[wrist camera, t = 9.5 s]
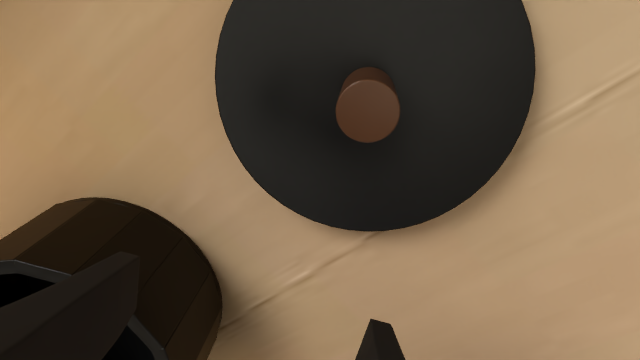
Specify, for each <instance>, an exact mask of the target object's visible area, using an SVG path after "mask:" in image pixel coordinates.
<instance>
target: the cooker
mask: <svg viewBox="0 0 640 360" xmlns="http://www.w3.org/2000/svg"><path fill="white" fill-rule="evenodd" d="M121 251H122V252H125V253H129V254H133V255H137V256H140V267H139V281H138V295H137V308H136V310H135V312H134V313H133V315H132V317H131V318H130V320H129V322H128V324H127V325H126V327H125V328H124V330H123V332H122V333H121V335H120V336H119V338H118V339H117V341H116V342H115V343H114V345H113V346H112V347H111V348H110V350H109V351H108V352H107V354H106V355H105V356H104V357H103V359H102V360H207V358H208V355H209V353H210V351H211V349H212V347H213V345H214V342H215V340H216V338H217V333H218V329H219V326H220V322H221V318H222V295H221V291H220V287H219V283H218V281H217V278H216V275H215V273H214V271H213V269H212V267H211V265H210V264H209V262H208V260H207V259H206V257H205V256H204V255H203V253H202V252H201V250H200V249H199V248H198V247H197V246H196V245H195V244H194V242H193V241H192V240H191V239H190V238H189V237H188V236H187V235H185V234H184V233H183V232H182V231H181V230H180V229H179V228H177V227H176V226H174V225H173V224H172V223H170V222H169V221H167V220H166V219H164V218H162V217H161V216H159V215H157V214H155V213H154V212H151V211H149V210H147V209H145V208H142V207H140V206H137V205H134V204H131V203H128V202H125V201H120V200H115V199H108V198H81V199H75V200H70V201H67V202H64V203H60V204H56V205H54V206H53V207H51V208H50V209H48V210H46V211H45V212H43V213H42V214H40V215H39V216H37V217H35V218H34V219H32V220H31V221H29V222H28V223H26V224H24V225H23V226H21V227H20V228H18V229H17V230H15V231H13V232H12V233H10V234H9V235H7V236H6V237H4V238H2V239H1V240H0V308H1V307H3V306H6V305H8V304H11V303H13V302H16V301H18V300H20V299H22V298H25V297H27V296H29V295H31V294H34V293H36V292H38V291H40V290H43V289H45V288H47V287H49V286H52V285H54V284H56V283H58V282H60V281H62V280H64V279H66V278H68V277H70V276H72V275H74V274H76V273H78V272H80V271H82V270H84V269H86V268H88V267H90V266H92V265H94V264H96V263H98V262H100V261H102V260H104V259H106V258H108V257H110V256H112V255H114V254H116V253H118V252H121Z"/></svg>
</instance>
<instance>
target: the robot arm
mask: <svg viewBox="0 0 640 360" xmlns="http://www.w3.org/2000/svg"><path fill="white" fill-rule="evenodd" d="M139 267H140V256H137V255H133V254H129V253H125V252H122V251H121V252H118V253H116V254H114V255H112V256H110V257H108V258H106V259H104V260H102V261H100V262H98V263H96V264H94V265H92V266H90V267H88V268H86V269H84V270H82V271H80V272H78V273H76V274H74V275H72V276H70V277H68V278H66V279H64V280H62V281H60V282H58V283H56V284H54V285H52V286H49V287H47V288H45V289H43V290H40V291H38V292H36V293H34V294H31V295H29V296H27V297H25V298H22V299H20V300H18V301H16V302H13V303H11V304H8V305H6V306H3V307H1V308H0V360H102V359H103V357H104V356H105V355H106V354H107V352H108V351H109V350H110V348H111V347H112V346H113V345H114V343H115V342H116V341H117V339H118V338H119V336H120V335H121V333H122V332H123V330H124V328H125V327H126V325H127V324H128V322H129V320H130V318H131V317H132V315H133V313H134V312H135V310H136V308H137V295H138V281H139ZM355 360H405V358H404V355H403V353H402V350H401V348H400V346H399V343H398V341H397V338H396V335H395V333H394V330H393V328H392V326H391V324H389V323H385V322H381V321H377V320H374V319H370V322H369V324H368V327H367V330H366V332H365V335H364V338H363V340H362V343H361V346H360V348H359V351H358V354H357V356H356V359H355Z"/></svg>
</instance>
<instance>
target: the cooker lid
mask: <svg viewBox="0 0 640 360" xmlns="http://www.w3.org/2000/svg"><path fill="white" fill-rule="evenodd" d="M534 79H535V49H534V42H533V37H532V32H531V26H530V23H529V20H528V17H527V14H526V11H525V8H524V5H523V3H522V1H521V0H233V2H232V4H231V6H230V8H229V11H228V13H227V15H226V18H225V21H224V24H223V27H222V30H221V33H220V38H219V43H218V48H217V54H216V67H215V84H216V97H217V102H218V107H219V112H220V117H221V120H222V123H223V126H224V129H225V132H226V135H227V137H228V139H229V141H230V143H231V145H232V147H233V150H234V152H235V153H236V155H237V156H238V158H239V160H240V161H241V163H242V164H243V166H244V167H245V169H246V170H247V171H248V172H249V174H250V175H251V176H252V177H253V179H254V180H255V181H256V182H257V183H258V184H259V185H260V186H261V187H262V188H263V189H264V190H265V191H266V192H267V193H268V194H270V195H271V196H272V197H273V198H275V199H276V200H277V201H279V202H280V203H281V204H283V205H284V206H286V207H287V208H289V209H291V210H292V211H294V212H296V213H297V214H300V215H302V216H304V217H306V218H308V219H311V220H313V221H315V222H319V223H322V224H325V225H328V226H331V227H336V228H341V229H346V230H355V231H387V230H394V229H401V228H405V227H409V226H413V225H417V224H420V223H423V222H426V221H428V220H431V219H433V218H436V217H438V216H440V215H442V214H444V213H446V212H448V211H450V210H451V209H453V208H455V207H457V206H458V205H460V204H461V203H462V202H464V201H465V200H467V199H468V198H470V197H471V196H472V195H473V194H474V193H476V192H477V191H478V190H479V189H480V188H481V187H482V186H484V185H485V184H486V183H487V182H488V181H489V179H490V178H491V177H492V176H493V175H494V174H495V173H496V172H497V171H498V169H499V168H500V167H501V165H502V164H503V162H504V161H505V160H506V158H507V157H508V155H509V154H510V152H511V151H512V149H513V147H514V145H515V143H516V141H517V139H518V138H519V136H520V134H521V131H522V129H523V126H524V123H525V121H526V118H527V115H528V112H529V108H530V104H531V100H532V95H533V89H534Z"/></svg>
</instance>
